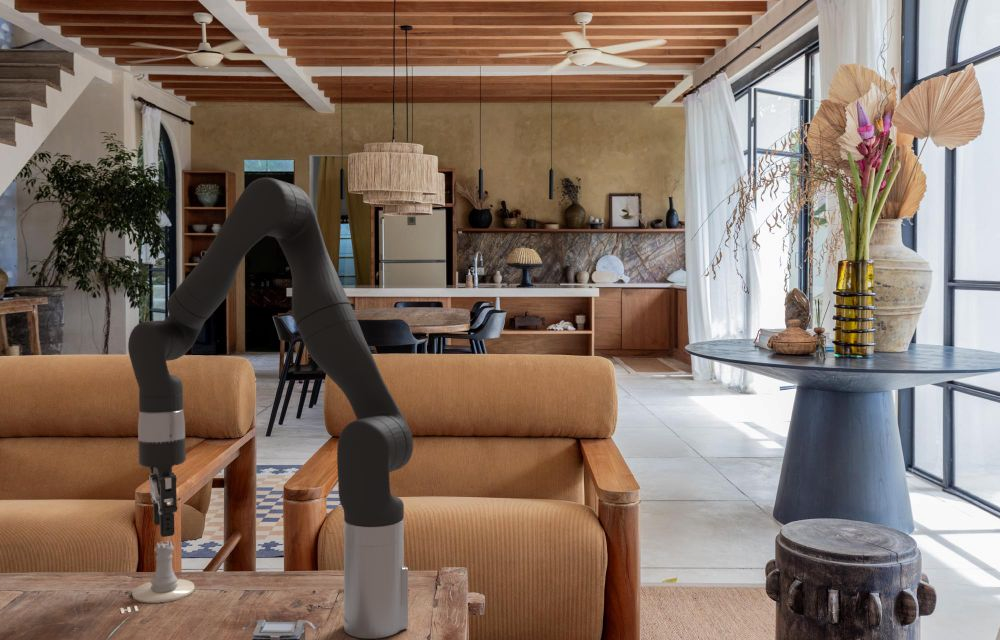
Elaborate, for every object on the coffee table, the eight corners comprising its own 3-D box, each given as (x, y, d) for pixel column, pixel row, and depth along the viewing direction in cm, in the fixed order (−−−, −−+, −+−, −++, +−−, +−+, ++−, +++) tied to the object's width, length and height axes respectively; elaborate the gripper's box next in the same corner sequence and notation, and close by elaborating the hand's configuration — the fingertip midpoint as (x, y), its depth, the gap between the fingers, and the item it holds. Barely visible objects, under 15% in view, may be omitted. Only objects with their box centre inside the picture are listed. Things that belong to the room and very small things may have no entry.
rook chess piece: (168, 594, 146) (168, 548, 146) (144, 592, 147) (144, 546, 147) (183, 585, 151) (183, 540, 150) (159, 583, 152) (159, 538, 151)
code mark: (121, 613, 139) (121, 613, 139) (120, 608, 141) (120, 608, 141) (138, 611, 140) (138, 610, 140) (137, 606, 143) (136, 605, 143)
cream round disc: (189, 578, 156) (189, 575, 156) (198, 596, 147) (198, 593, 147) (129, 587, 151) (129, 584, 151) (135, 606, 142) (135, 603, 142)
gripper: (191, 440, 143) (193, 537, 144) (178, 428, 156) (180, 517, 156) (143, 444, 140) (145, 543, 140) (134, 432, 152) (135, 523, 153)
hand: (163, 529), depth 148 cm, fingers open, 8 cm apart
